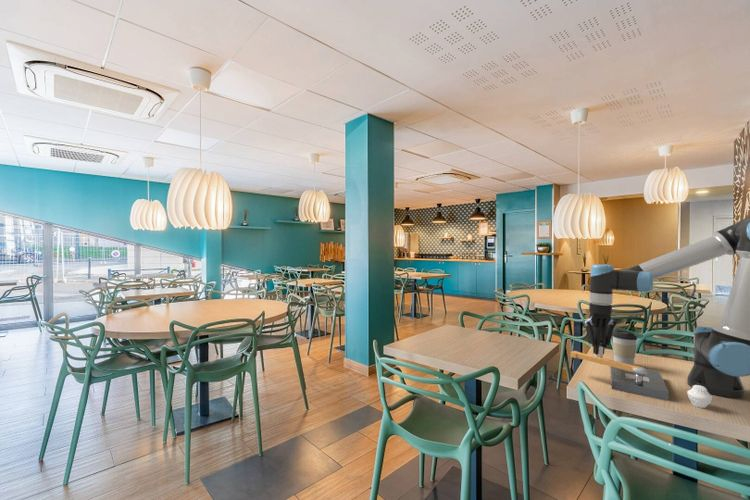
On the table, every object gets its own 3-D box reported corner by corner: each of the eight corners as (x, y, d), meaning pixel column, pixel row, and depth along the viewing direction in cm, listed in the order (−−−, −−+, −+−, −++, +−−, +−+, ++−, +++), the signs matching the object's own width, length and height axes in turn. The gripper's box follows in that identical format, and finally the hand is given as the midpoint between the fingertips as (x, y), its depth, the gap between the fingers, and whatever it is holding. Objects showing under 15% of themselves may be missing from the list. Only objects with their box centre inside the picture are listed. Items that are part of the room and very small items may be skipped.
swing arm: (574, 355, 142) (574, 350, 142) (647, 372, 123) (647, 368, 123) (570, 356, 140) (570, 352, 140) (644, 375, 120) (644, 370, 120)
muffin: (692, 408, 112) (693, 387, 112) (682, 400, 117) (683, 380, 117) (716, 411, 110) (717, 390, 110) (705, 403, 115) (706, 382, 115)
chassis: (658, 378, 137) (659, 361, 137) (668, 400, 117) (668, 380, 117) (610, 369, 146) (610, 353, 146) (611, 388, 126) (612, 370, 126)
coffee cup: (606, 361, 156) (607, 329, 156) (624, 361, 157) (625, 328, 157) (622, 368, 147) (623, 334, 147) (641, 368, 148) (642, 334, 148)
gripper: (608, 301, 139) (605, 358, 140) (578, 301, 138) (576, 359, 139) (623, 305, 132) (621, 365, 133) (592, 305, 130) (590, 366, 131)
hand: (598, 362), depth 136 cm, fingers closed
